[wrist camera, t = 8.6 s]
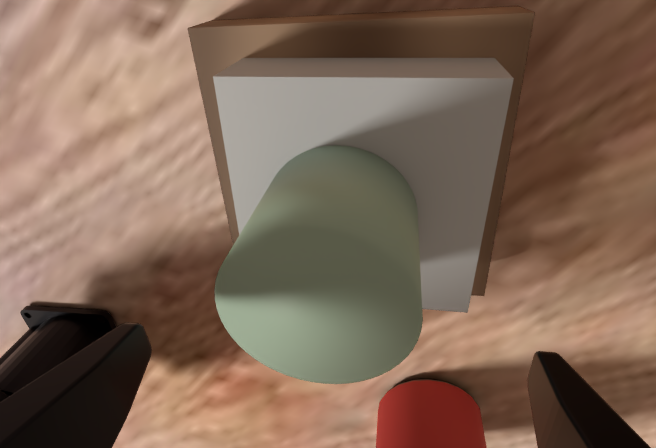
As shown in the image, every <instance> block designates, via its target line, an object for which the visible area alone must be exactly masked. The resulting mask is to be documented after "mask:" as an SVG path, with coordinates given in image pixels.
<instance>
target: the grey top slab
mask: <svg viewBox="0 0 656 448" xmlns="http://www.w3.org/2000/svg"><path fill="white" fill-rule="evenodd" d="M513 79H514V78H513V77H512V76H511V75H510V74H509V73H508V72H507V71H506V70H505V68H504V67H503V66H502V65H501V64H500V63H499V62H498V61H497V60H496V59H495V58H242V59H241V60H239V61H237V62H236V63H234V64H233V65H231V66H229V67H228V68H226V69H224V70H223V71H221V72H220V73H218V74H216V75H215V76H213V80H214V86H215V92H216V98H217V104H218V110H219V116H220V122H221V128H222V134H223V140H224V146H225V152H226V158H227V164H228V170H229V176H230V182H231V188H232V194H233V200H234V206H235V212H236V218H237V224H238V230H239V235H240V233H241V232H242V230H243V228H244V227H245V225H246V224H247V222H248V220H249V219H250V217H251V215H252V214H253V212H254V210H255V209H256V207H257V205H258V204H259V202H260V200H261V199H262V197H263V195H264V194H265V192H266V190H267V189H268V187H269V186H270V184H271V182H272V181H273V179H274V177H275V176H276V174H277V173H278V172H279V170H280V169H281V168H282V167H283V166H284V165H285V164H286V163H287V162H288V161H290V160H291V159H293V158H294V157H295V156H297V155H299V154H301V153H303V152H305V151H308V150H311V149H314V148H318V147H323V146H333V145H339V146H350V147H356V148H360V149H363V150H366V151H369V152H371V153H373V154H376V155H378V156H379V157H381V158H383V159H384V160H386V161H387V162H389V163H390V164H391V165H392V166H394V167H395V168H396V169H397V170H398V171H399V172H400V173H401V174H402V175H403V177H404V178H405V180H406V181H407V182H408V184H409V186H410V188H411V189H412V191H413V194H414V197H415V200H416V204H417V209H418V229H419V251H420V272H421V294H422V309H430V310H442V311H454V312H466V313H468V308H469V303H470V298H471V292H472V287H473V282H474V277H475V272H476V267H477V262H478V257H479V252H480V247H481V242H482V237H483V232H484V227H485V221H486V216H487V211H488V206H489V201H490V196H491V191H492V186H493V181H494V176H495V171H496V166H497V161H498V156H499V150H500V145H501V140H502V135H503V130H504V125H505V120H506V115H507V110H508V105H509V100H510V95H511V90H512V85H513Z"/></svg>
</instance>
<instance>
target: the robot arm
mask: <svg viewBox="0 0 656 448" xmlns="http://www.w3.org/2000/svg"><path fill="white" fill-rule="evenodd" d="M21 315H22V317H23V319H24V320H25V322H26V324H27V325H28V327H29V330H28V331H27V332H26V333H25V334H24V335H23V336H22V337H21V338H20V339H19V340H18V341H17V342H16V343H15V344H14V345H13V346H12V347H11V348H10V349H9V350H8V351H7V352H6V353H5V354H4V355H3V356H2V357H1V358H0V448H112V446H113V444H114V442H115V440H116V438H117V436H118V434H119V432H120V430H121V428H122V427H123V424H124V422H125V420H126V418H127V416H128V414H129V411H130V409H131V406H132V404H133V401H134V399H135V396H136V394H137V391H138V388H139V386H140V383H141V381H142V378H143V375H144V373H145V370H146V368H147V365H148V362H149V360H150V357H151V352H152V349H151V344H150V342H149V340H148V337H147V335H146V332H145V330H144V327H143V326H142V325H141V324H138V323H123V324H121V325H120V326H118V327H116V325H115V323H114V320H113V318H112V316H111V315H110V314H109V313H108V312H106V311H104V310H90V309H74V308H58V307H41V306H26V307H25V308H24V309H23V310H22V311H21ZM528 391H529V397H530V403H531V409H532V415H533V421H534V427H535V433H536V439H537V445H538V448H650V446H649V445H648V444H647V443H646V442H645V441H644V440H643V439H642V438H641V437H640V436H639V435H638V434H637V433H636V432H635V431H634V430H633V429H632V428H631V427H630V426H629V425H628V424H627V423H626V422H625V421H624V420H623V419H622V418H621V417H620V416H619V415H618V414H617V413H616V412H615V411H614V410H613V409H612V408H611V407H610V406H609V405H608V404H607V403H606V402H605V401H604V400H603V399H602V398H601V397H600V396H599V395H598V394H597V392H596V391H595V390H594V389H593V388H592V387H591V386H590V385H589V384H588V383H587V382H586V381H585V380H584V379H583V378H582V377H581V376H580V375H579V374H578V373H577V372H576V371H575V370H574V369H573V368H572V367H571V366H570V365H569V364H568V363H567V362H566V361H565V360H564V359H563V358H562V357H561V356H560V355H559V354H557V353H555V352H543V351H538V352H536V353H535V354H534V357H533V360H532V364H531V368H530V371H529V375H528Z"/></svg>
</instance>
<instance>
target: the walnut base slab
mask: <svg viewBox="0 0 656 448" xmlns="http://www.w3.org/2000/svg"><path fill="white" fill-rule="evenodd" d="M534 15H535V12H532V11H530V10H527V9H525V8H522V7H520V6H508V7H487V8H466V9H445V10H423V11H402V12H381V13H360V14H339V15H317V16H296V17H275V18H254V19H233V20H212V21H208V22H205V23H202V24H199V25H196V26H193V27H189V28H188V32H189V37H190V42H191V47H192V51H193V56H194V61H195V66H196V70H197V75H198V80H199V85H200V89H201V94H202V99H203V104H204V108H205V113H206V118H207V123H208V128H209V132H210V137H211V142H212V147H213V151H214V156H215V161H216V166H217V170H218V175H219V180H220V185H221V189H222V194H223V199H224V204H225V208H226V213H227V218H228V223H229V228H230V232H231V237H232V242H233V245H234V243H235V242H236V240H237V238H238V237H239V230H238V224H237V218H236V212H235V206H234V200H233V194H232V188H231V182H230V176H229V170H228V164H227V158H226V152H225V146H224V140H223V134H222V128H221V122H220V116H219V110H218V104H217V98H216V92H215V86H214V80H213V76H215V75H216V74H218V73H220V72H221V71H223V70H224V69H226V68H228V67H229V66H231V65H233V64H234V63H236V62H237V61H239V60H241V59H242V58H495V59H496V60H497V61H498V62H499V63H500V64H501V65H502V66H503V67H504V68H505V70H506V71H507V72H508V73H509V74H510V75H511V76H512V77H513V78H514V79H513V85H512V90H511V95H510V100H509V105H508V110H507V115H506V120H505V125H504V130H503V135H502V140H501V145H500V150H499V156H498V161H497V166H496V171H495V176H494V181H493V186H492V191H491V196H490V201H489V206H488V211H487V216H486V221H485V227H484V232H483V237H482V242H481V247H480V252H479V257H478V262H477V267H476V272H475V277H474V282H473V287H472V292H471V295H477V296H484V294H485V289H486V283H487V277H488V272H489V266H490V261H491V255H492V249H493V244H494V238H495V233H496V227H497V222H498V216H499V210H500V205H501V199H502V194H503V188H504V183H505V177H506V171H507V166H508V160H509V155H510V149H511V143H512V138H513V132H514V127H515V121H516V116H517V110H518V104H519V99H520V93H521V88H522V82H523V77H524V71H525V65H526V60H527V54H528V49H529V43H530V37H531V32H532V26H533V21H534Z"/></svg>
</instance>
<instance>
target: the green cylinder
mask: <svg viewBox="0 0 656 448" xmlns="http://www.w3.org/2000/svg"><path fill="white" fill-rule="evenodd" d="M215 302H216V307H217V311H218V314H219V316H220V319H221V321H222V323H223V325H224V327H225V329H226V330H227V331H228V333H229V334H230V336H231V337H232V338H233V339H234V340H235V342H236V343H237V344H238V345H239V346H240V347H241V348H242V349H243V350H244V351H246V352H247V353H248V354H249V355H250V356H252V357H253V358H255V359H256V360H257V361H259V362H261V363H262V364H264V365H265V366H267V367H269V368H271V369H273V370H275V371H277V372H280V373H282V374H285V375H287V376H290V377H294V378H297V379H300V380H305V381H310V382H316V383H325V384H344V383H353V382H360V381H364V380H368V379H371V378H374V377H377V376H379V375H382V374H384V373H386V372H388V371H390V370H391V369H393V368H394V367H396V366H397V365H398V364H400V363H401V362H402V361H403V360H404V359H405V358H406V357H407V356H408V355H409V354H410V352H411V351H412V350H413V348H414V346H415V345H416V343H417V341H418V338H419V335H420V333H421V328H422V321H423V317H422V294H421V272H420V251H419V229H418V209H417V204H416V200H415V197H414V194H413V191H412V189H411V188H410V186H409V184H408V182H407V181H406V180H405V178H404V177H403V175H402V174H401V173H400V172H399V171H398V170H397V169H396V168H395V167H394V166H392V165H391V164H390V163H389V162H387V161H386V160H384V159H383V158H381V157H379V156H378V155H376V154H373V153H371V152H369V151H366V150H363V149H360V148H356V147H350V146H339V145H333V146H323V147H318V148H314V149H311V150H308V151H305V152H303V153H301V154H299V155H297V156H295V157H294V158H293V159H291V160H290V161H288V162H287V163H286V164H285V165H284V166H283V167H282V168H281V169H280V170H279V172H278V173H277V174H276V176H275V177H274V179H273V181H272V182H271V184H270V186H269V187H268V189H267V190H266V192H265V194H264V195H263V197H262V199H261V200H260V202H259V204H258V205H257V207H256V209H255V210H254V212H253V214H252V215H251V217H250V219H249V220H248V222H247V224H246V225H245V227H244V228H243V230H242V232H241V233H240V235H239V237H238V238H237V240H236V242H235V243H234V245H233V247H232V248H231V250H230V252H229V253H228V255H227V257H226V258H225V260H224V262H223V264H222V265H221V267H220V269H219V272H218V275H217V278H216V283H215Z"/></svg>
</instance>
